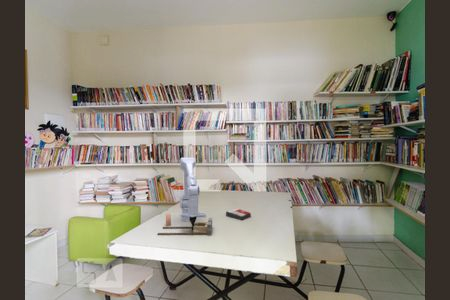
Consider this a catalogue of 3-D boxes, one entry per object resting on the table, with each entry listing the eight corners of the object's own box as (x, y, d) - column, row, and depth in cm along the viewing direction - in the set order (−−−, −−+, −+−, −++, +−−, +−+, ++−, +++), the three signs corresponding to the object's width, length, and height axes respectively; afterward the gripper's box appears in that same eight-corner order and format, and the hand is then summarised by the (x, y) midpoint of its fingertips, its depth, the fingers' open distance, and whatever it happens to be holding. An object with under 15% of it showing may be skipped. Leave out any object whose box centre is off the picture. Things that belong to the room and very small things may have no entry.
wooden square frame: (195, 228, 125) (195, 222, 125) (208, 228, 125) (208, 222, 125) (193, 234, 117) (193, 227, 117) (207, 234, 116) (207, 227, 117)
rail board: (163, 229, 127) (163, 218, 127) (212, 229, 126) (212, 217, 127) (156, 238, 115) (156, 225, 115) (210, 237, 114) (210, 224, 115)
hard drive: (241, 215, 143) (225, 210, 153) (241, 222, 143) (225, 216, 153) (251, 212, 151) (235, 207, 161) (250, 218, 151) (235, 212, 161)
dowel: (166, 226, 132) (166, 214, 132) (171, 226, 132) (171, 214, 132) (165, 228, 129) (165, 215, 129) (170, 228, 129) (170, 215, 129)
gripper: (179, 208, 117) (179, 232, 117) (205, 208, 117) (205, 232, 116) (182, 204, 124) (182, 227, 124) (206, 204, 124) (206, 227, 124)
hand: (193, 229), depth 121 cm, fingers closed
